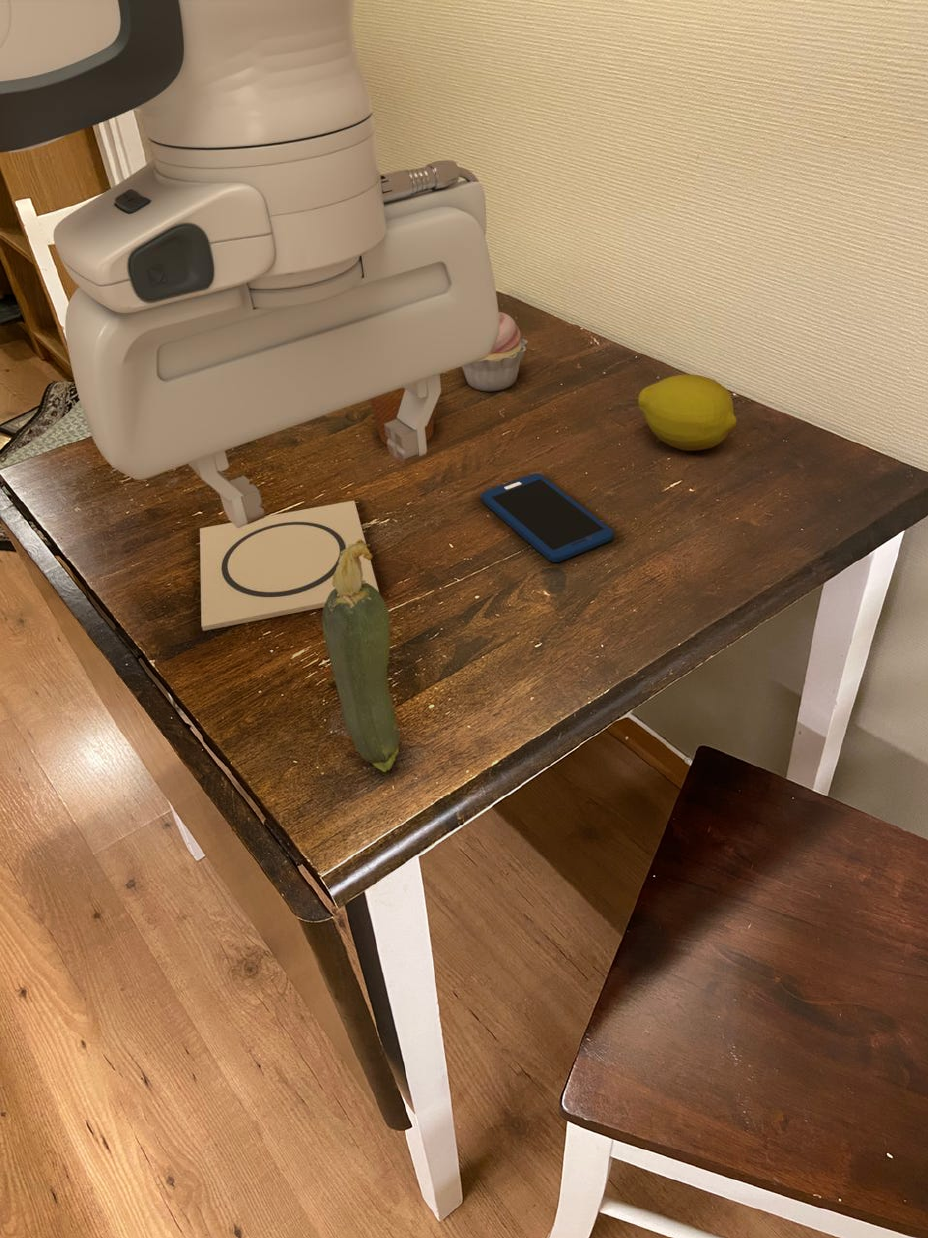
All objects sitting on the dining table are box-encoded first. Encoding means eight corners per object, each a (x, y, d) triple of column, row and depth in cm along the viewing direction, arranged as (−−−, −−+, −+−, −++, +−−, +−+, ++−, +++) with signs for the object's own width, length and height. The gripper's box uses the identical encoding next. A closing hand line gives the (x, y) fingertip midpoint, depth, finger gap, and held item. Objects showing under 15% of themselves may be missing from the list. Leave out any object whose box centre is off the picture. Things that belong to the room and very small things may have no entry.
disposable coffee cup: (351, 447, 102) (335, 348, 94) (389, 410, 108) (377, 314, 101) (425, 460, 99) (415, 358, 91) (460, 421, 105) (453, 323, 97)
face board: (203, 631, 78) (200, 625, 78) (201, 532, 90) (199, 526, 90) (379, 596, 81) (378, 590, 80) (355, 504, 93) (354, 498, 92)
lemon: (746, 444, 97) (757, 376, 92) (710, 475, 93) (720, 405, 87) (661, 417, 103) (666, 352, 98) (623, 445, 98) (627, 378, 93)
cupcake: (538, 369, 114) (537, 292, 108) (513, 401, 108) (511, 322, 101) (471, 361, 117) (467, 286, 111) (444, 392, 111) (437, 314, 104)
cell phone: (537, 476, 94) (536, 470, 94) (617, 539, 85) (617, 532, 84) (478, 498, 92) (477, 492, 91) (554, 565, 82) (554, 559, 82)
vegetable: (340, 767, 65) (289, 549, 52) (371, 728, 68) (330, 512, 55) (391, 787, 64) (351, 567, 51) (421, 746, 67) (390, 527, 54)
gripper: (443, 140, 43) (461, 402, 52) (10, 239, 35) (121, 529, 44) (522, 162, 39) (527, 442, 48) (51, 281, 31) (164, 591, 40)
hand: (330, 485), depth 46 cm, fingers open, 8 cm apart
